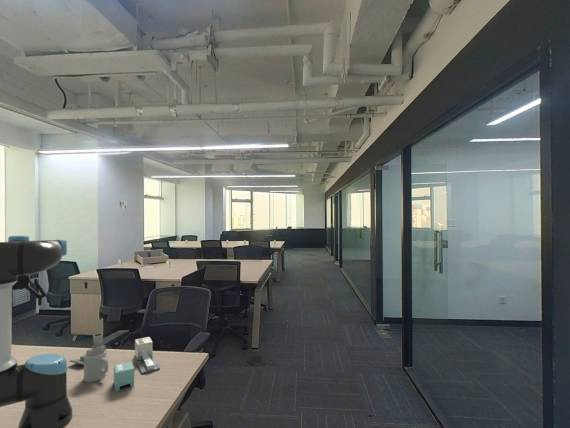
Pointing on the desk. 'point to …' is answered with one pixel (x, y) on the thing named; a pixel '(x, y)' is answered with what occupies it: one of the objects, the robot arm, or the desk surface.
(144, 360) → the light grey angular piece
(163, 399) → the desk surface
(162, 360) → the desk surface
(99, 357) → the mug
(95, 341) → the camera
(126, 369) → the block
